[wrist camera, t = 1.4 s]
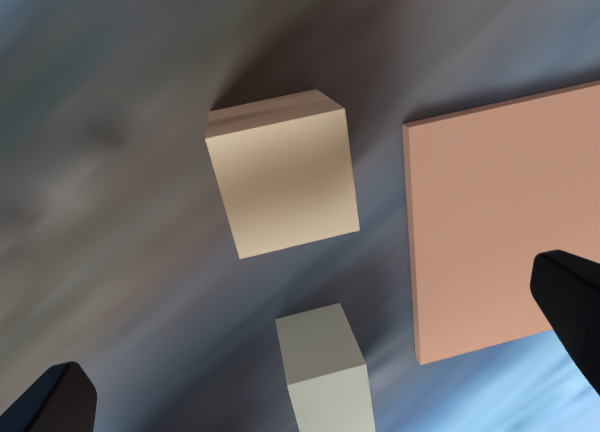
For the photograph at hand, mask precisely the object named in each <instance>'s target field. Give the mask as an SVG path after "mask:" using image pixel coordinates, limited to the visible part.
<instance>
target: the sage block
mask: <svg viewBox="0 0 600 432" xmlns="http://www.w3.org/2000/svg"><path fill="white" fill-rule="evenodd" d="M275 322H276V327H277V333H278V338H279V344H280V349H281V355H282V360H283V366H284V371H285V377H286V382H287V387H288V391H289V394H290V398H291V402H292V406H293V409H294V413H295V417H296V420H297V424H298V428H299V432H375V425H374V418H373V411H372V403H371V396H370V389H369V381H368V374H367V367H366V363H365V360H364V358H363V356H362V353H361V351H360V348H359V346H358V344H357V341H356V339H355V337H354V334H353V332H352V330H351V327H350V325H349V323H348V320H347V318H346V316H345V313H344V311H343V309H342V306H341V304H340V303H337V304H333V305H329V306H325V307H321V308H317V309H313V310H309V311H306V312H302V313H298V314H294V315H290V316H286V317H282V318H278V319H275Z"/></svg>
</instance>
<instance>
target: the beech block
mask: <svg viewBox="0 0 600 432" xmlns="http://www.w3.org/2000/svg"><path fill="white" fill-rule="evenodd" d="M205 140H206V143H207V147H208V150H209V154H210V157H211V161H212V164H213V168H214V171H215V175H216V178H217V182H218V185H219V189H220V192H221V196H222V199H223V203H224V206H225V209H226V213H227V216H228V220H229V223H230V227H231V230H232V234H233V237H234V241H235V244H236V248H237V251H238V255H239V258H240V259H243V258H247V257H251V256H255V255H259V254H264V253H268V252H272V251H276V250H280V249H284V248H288V247H293V246H297V245H301V244H305V243H309V242H313V241H317V240H322V239H326V238H330V237H334V236H338V235H342V234H346V233H351V232H355V231H359V230H360V228H359V220H358V212H357V204H356V195H355V187H354V179H353V171H352V162H351V154H350V146H349V138H348V129H347V121H346V113H345V108H344V107H342V106H341V105H339V104H338V103H336V102H335V101H333V100H332V99H330V98H329V97H327V96H326V95H324V94H323V93H321V92H320V91H318V90H317V89H314V90H309V91H304V92H300V93H295V94H290V95H285V96H281V97H276V98H271V99H266V100H262V101H257V102H252V103H248V104H243V105H238V106H233V107H229V108H224V109H219V110H214V111H210V112H209V118H208V124H207V130H206V137H205Z"/></svg>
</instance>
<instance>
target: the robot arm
mask: <svg viewBox="0 0 600 432" xmlns="http://www.w3.org/2000/svg"><path fill="white" fill-rule="evenodd" d="M530 291H531V294H532V296H533V298H534V300H535V301H536V303H537V305H538V306H539V308H540V309H541V311H542V313H543V314H544V316H545V317H546V319H547V320H548V322H549V324H550V325H551V327H552V328H553V330H554V332H555V333H556V335H557V336H558V338H559V340H560V341H561V343H562V344H563V346H564V347H565V349H566V351H567V352H568V354H569V355H570V357H571V358H572V360H573V361H574V363H575V364H576V366H577V367H578V368H579V370H580V371H581V372H582V374H583V375H584V376H585V378H586V379H587V380H588V382H589V383H590V384H591V385H592V387H593V388H594V389H595V391H596V392H597V393H598V394H599V396H600V263H597V262H594V261H591V260H588V259H586V258H583V257H580V256H577V255H574V254H571V253H569V252H566V251H563V250H559V249H555V250H550V251H546V252H542V253H539V254H537V255H536V256H535V258H534V261H533V267H532V273H531V279H530ZM96 404H97V393H96V389H95V387H94V385H93V384H92V382H91V381H90V379H89V378H88V376H87V375H86V373H85V372H84V371H83V369H82V368H81V366H80V365H79V364H78V363H77V362H75V361H70V362H66V363H61V364H57V365H54V366H51V367H50V368H49V369H48V370H46V371H45V372H44V373H43V374H42V375H41V376H40V377H39V378H38V379H37V380H36V381H35V382H34V383H33V384H32V385H31V386H30V387H29V388H28V389H27V390H26V391H25V392H24V393H23V394H22V395H21V396H20V397H19V398H18V399H17V400H16V401H15V402H14V403H13V404H12V405H11V406H10V407H9V408H8V409H7V410H6V411H5V412H4V413H3V414H2V415H1V416H0V432H93V428H94V420H95V412H96Z"/></svg>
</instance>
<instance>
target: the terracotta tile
mask: <svg viewBox="0 0 600 432" xmlns="http://www.w3.org/2000/svg"><path fill="white" fill-rule="evenodd" d="M402 133H403V150H404V167H405V184H406V201H407V218H408V235H409V252H410V269H411V286H412V303H413V320H414V337H415V354H416V358H417V359H418V361H419V363H420V365H423V364H427V363H430V362H434V361H438V360H441V359H445V358H449V357H452V356H456V355H460V354H463V353H467V352H471V351H474V350H478V349H482V348H485V347H489V346H493V345H496V344H500V343H504V342H507V341H511V340H515V339H518V338H522V337H526V336H529V335H533V334H537V333H540V332H544V331H548V330H551V329H553V328H552V327H551V325H550V324H549V322H548V320H547V319H546V317H545V316H544V314H543V313H542V311H541V309H540V308H539V306H538V305H537V303H536V301H535V300H534V298H533V296H532V294H531V291H530V279H531V273H532V267H533V261H534V258H535V256H536V255H537V254H539V253H542V252H546V251H550V250H555V249H559V250H563V251H566V252H569V253H571V254H574V255H577V256H580V257H583V258H586V259H588V260H591V261H594V262H597V263H600V80H597V81H593V82H588V83H584V84H579V85H575V86H570V87H566V88H561V89H557V90H552V91H548V92H543V93H539V94H534V95H530V96H525V97H521V98H516V99H512V100H507V101H503V102H498V103H494V104H489V105H485V106H480V107H476V108H471V109H467V110H462V111H458V112H453V113H449V114H444V115H440V116H435V117H431V118H426V119H422V120H417V121H413V122H408V123H404V124H402Z"/></svg>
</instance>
